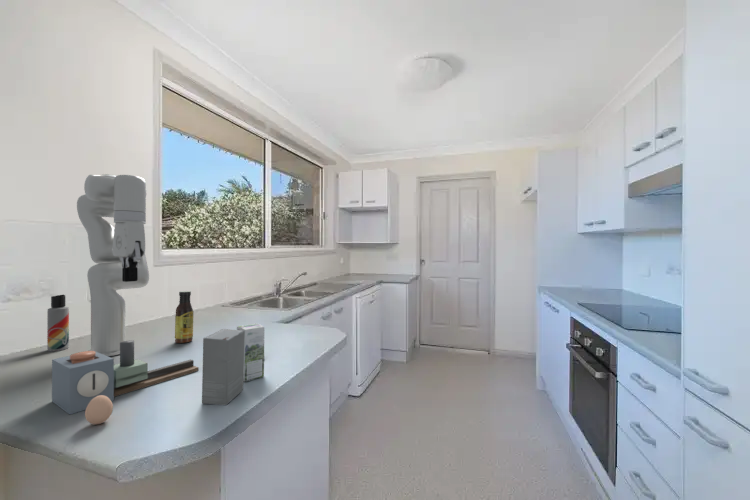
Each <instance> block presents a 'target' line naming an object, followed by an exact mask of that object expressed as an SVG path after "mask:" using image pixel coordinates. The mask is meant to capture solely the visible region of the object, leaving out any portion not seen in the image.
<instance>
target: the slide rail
mask: <svg viewBox="0 0 750 500" xmlns="http://www.w3.org/2000/svg"><path fill="white" fill-rule="evenodd" d="M194 363H195V361H194V360H193V359H188V360H184V361H179V362H177V363H176V362H175V363H173V364H169V365H166V366H162V367H159V368H155V369H151V370H148V379H144V380H141V381H137V382H134V383H131V384H127V385H124V386H120V387H117V388H116V387H114V397H117V396H120V395H124V394H128V393H130V392H134V391H137V390H140V389H144V388H146V387H149V386H153V385H157V384H160V383H162V382H166V381H169V380H173V379H176V378H179V377H182V376H183V377H184V376H186V375H189V374H192V373H196V372H198V371H199V366H196V365H194Z"/></svg>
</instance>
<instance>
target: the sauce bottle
mask: <svg viewBox="0 0 750 500" xmlns="http://www.w3.org/2000/svg"><path fill="white" fill-rule="evenodd" d="M178 296H179V301H178V303H179V304H178V305H177V307H176V308H175V316H174V317H175V318H174V321H175V323H174V342H175V344H185V343H190V342H192V341H193V337H194V309H193V305H192V303H191V296H192V291H190V290H185V291H184V290H183V291H179V293H178Z"/></svg>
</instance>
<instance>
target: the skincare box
mask: <svg viewBox="0 0 750 500" xmlns="http://www.w3.org/2000/svg"><path fill="white" fill-rule="evenodd" d="M244 337H245V331H243V330H237V329H229V328H228V329H227V328H222V329H220V330H217V331H216V332H213V333H212V334H209V335H207V336H205V337H203V338H202V339H203V340H202V374H201V375H202V379H201V381H202V383H201V403H202V404H203V405H204V404H205V405H215V406H216V405H219V406H227V405H229V403H230V402H231V401H233V400H235V398H236V397H237V396H238V395H240V393H241V392H243V391H244V381H243V370H244Z"/></svg>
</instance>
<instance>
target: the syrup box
mask: <svg viewBox="0 0 750 500" xmlns="http://www.w3.org/2000/svg"><path fill="white" fill-rule="evenodd" d="M236 330H243V331H245V337H244V370H243V383H244V382H249V381H252V380H256V379H260V378H263V377H264V376H265V326H263V325H262V324H260V323H251V324H245V325H238V326H236Z"/></svg>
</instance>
